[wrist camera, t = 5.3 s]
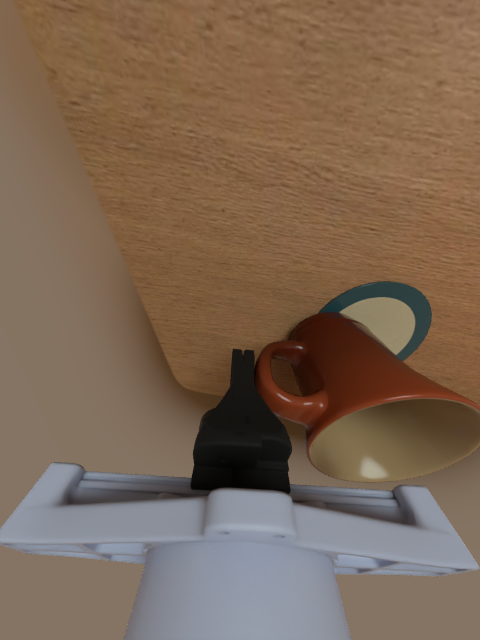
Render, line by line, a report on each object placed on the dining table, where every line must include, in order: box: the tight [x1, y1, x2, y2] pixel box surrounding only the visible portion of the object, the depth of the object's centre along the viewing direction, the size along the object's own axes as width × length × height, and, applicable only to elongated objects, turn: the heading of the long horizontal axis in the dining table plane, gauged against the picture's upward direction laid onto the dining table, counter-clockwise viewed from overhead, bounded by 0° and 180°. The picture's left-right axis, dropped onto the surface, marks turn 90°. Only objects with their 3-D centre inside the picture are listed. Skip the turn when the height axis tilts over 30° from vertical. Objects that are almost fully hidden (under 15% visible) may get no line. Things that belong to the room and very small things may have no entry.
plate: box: [318, 281, 432, 361], centre depth 18 cm, size 12×12×1 cm
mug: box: [254, 312, 480, 483], centre depth 14 cm, size 12×9×10 cm
